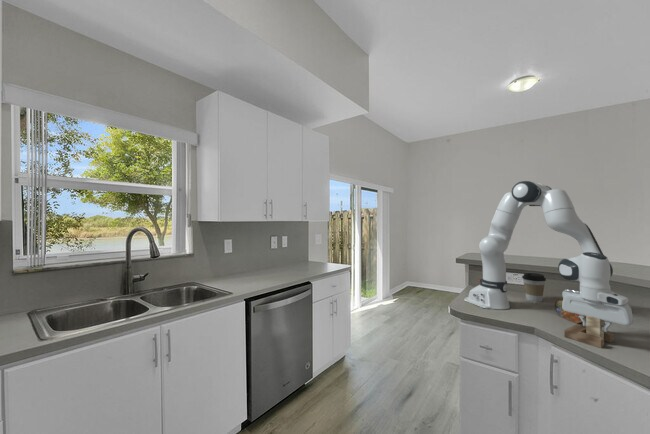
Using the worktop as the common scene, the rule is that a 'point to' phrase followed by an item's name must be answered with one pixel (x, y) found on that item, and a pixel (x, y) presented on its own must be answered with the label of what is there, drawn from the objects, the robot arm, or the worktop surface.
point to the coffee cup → (534, 286)
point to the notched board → (587, 336)
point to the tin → (567, 313)
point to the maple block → (594, 326)
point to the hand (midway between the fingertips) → (595, 328)
